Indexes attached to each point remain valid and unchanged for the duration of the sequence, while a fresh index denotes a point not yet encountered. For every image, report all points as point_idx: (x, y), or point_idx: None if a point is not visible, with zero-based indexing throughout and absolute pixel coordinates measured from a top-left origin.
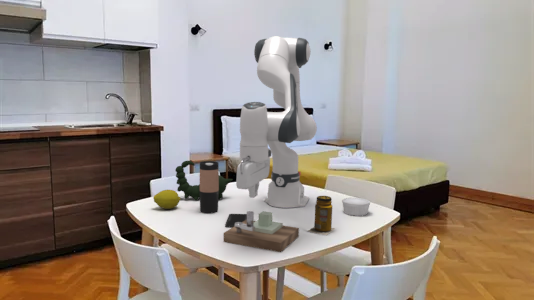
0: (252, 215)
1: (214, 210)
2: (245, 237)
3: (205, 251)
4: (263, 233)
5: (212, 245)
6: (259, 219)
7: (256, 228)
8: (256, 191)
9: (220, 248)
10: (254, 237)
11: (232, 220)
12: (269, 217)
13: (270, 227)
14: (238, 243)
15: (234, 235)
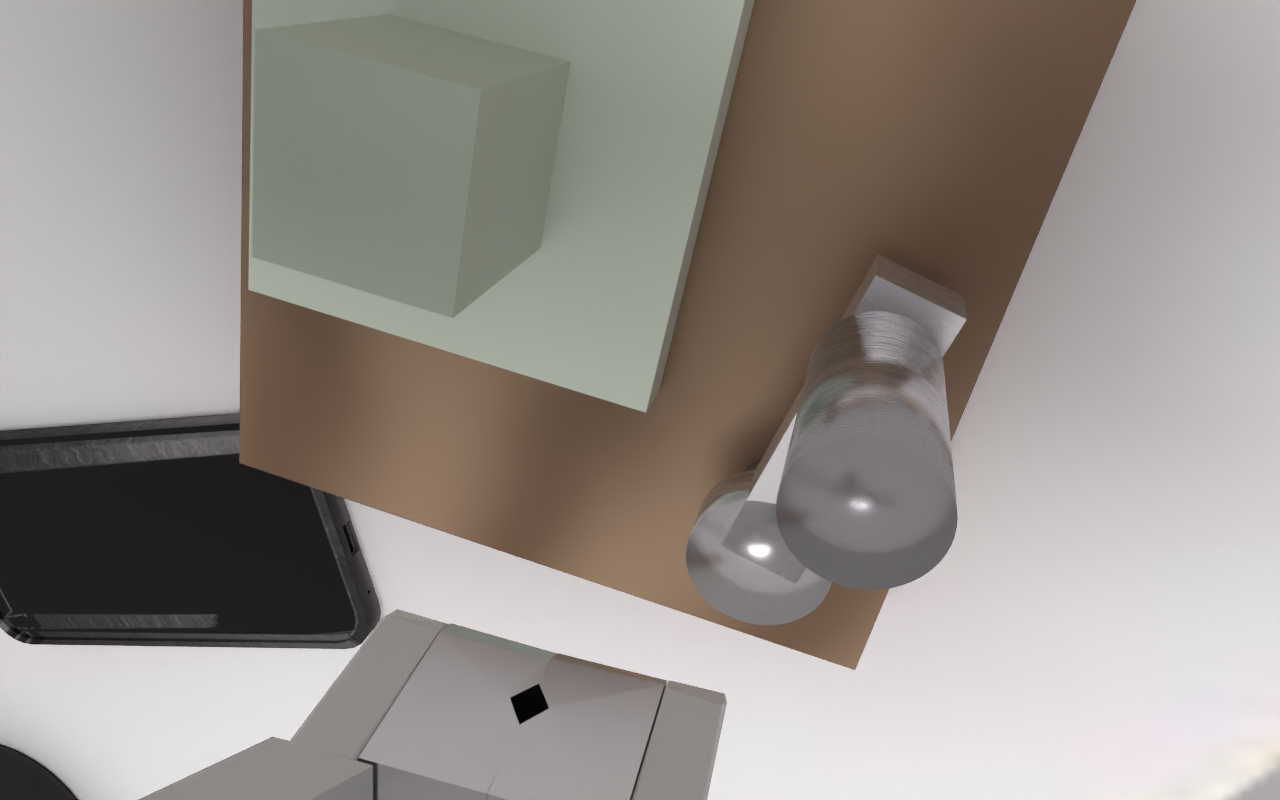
0: (923, 426)
1: (17, 783)
2: (981, 363)
3: (1229, 736)
4: (766, 102)
5: (1007, 688)
6: (501, 261)
7: (685, 254)
8: (434, 766)
9: (1107, 597)
10: (1005, 220)
11: (179, 590)
12: (442, 62)
13: (587, 5)
14: None
15: None
